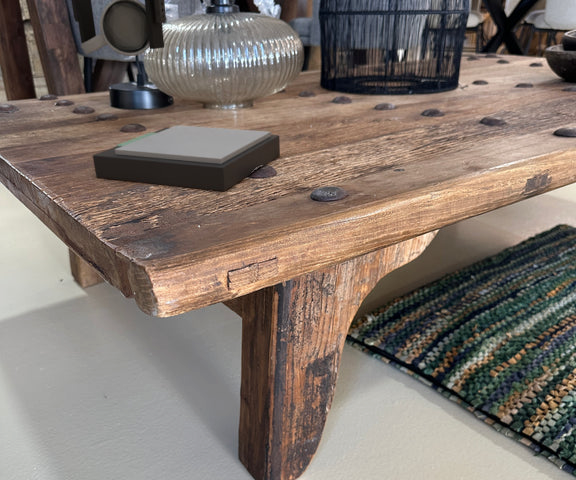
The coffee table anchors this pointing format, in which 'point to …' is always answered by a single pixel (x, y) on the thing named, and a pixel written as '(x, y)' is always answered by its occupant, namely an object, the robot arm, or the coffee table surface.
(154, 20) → the robot arm
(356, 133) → the coffee table surface
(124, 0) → the ceramic mug
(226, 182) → the scale
